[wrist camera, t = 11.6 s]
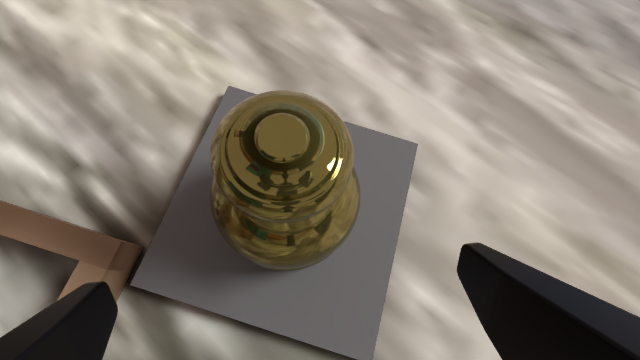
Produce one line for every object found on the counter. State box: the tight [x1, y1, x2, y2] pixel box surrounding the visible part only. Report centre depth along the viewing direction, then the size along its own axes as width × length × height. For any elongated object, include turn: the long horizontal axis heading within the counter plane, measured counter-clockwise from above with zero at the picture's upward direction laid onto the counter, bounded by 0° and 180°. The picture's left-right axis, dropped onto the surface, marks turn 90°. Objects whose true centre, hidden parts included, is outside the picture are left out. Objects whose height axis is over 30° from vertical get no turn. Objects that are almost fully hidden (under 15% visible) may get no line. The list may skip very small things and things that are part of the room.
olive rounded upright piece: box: [210, 91, 361, 271], centre depth 14 cm, size 7×8×10 cm
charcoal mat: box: [130, 86, 418, 360], centre depth 19 cm, size 14×14×1 cm
